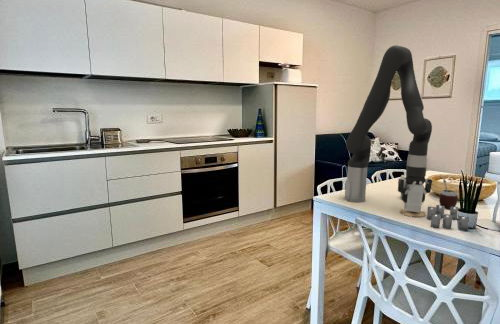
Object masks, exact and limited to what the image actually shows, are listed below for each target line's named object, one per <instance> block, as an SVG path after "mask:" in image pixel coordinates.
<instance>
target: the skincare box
mask: <svg viewBox="0 0 500 324" xmlns="http://www.w3.org/2000/svg"><path fill="white" fill-rule="evenodd" d="M406 184H407V183H406ZM410 185H411V184H409V185H407V187H409V186H410ZM423 188H425V184H423V185H414V186H413V187H412V189H411V190H410V191H409V192H408V193H407V195H408V196H407V203H404V202H403V204H404V205H403V209H405V210H406V211H412V212H421V211H422V206H423V203H422V197H423Z"/></svg>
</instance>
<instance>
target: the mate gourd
mask: <svg viewBox="0 0 500 324" xmlns="http://www.w3.org/2000/svg"><path fill="white" fill-rule="evenodd" d="M439 176H440V177H441V178H442V181H443V182H444V187H445V189H443V190H441V191H440V194H439V205H443V206H445V207H444V209H446V210H447V211H448V210H449V209H451V206H456V207H457V203H458V194H457V192H456V191H455V190H450V189H448V187H447V182H446V179H445V177H444V176H443V175H442V174H439ZM449 211H450V210H449Z"/></svg>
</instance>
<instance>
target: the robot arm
mask: <svg viewBox="0 0 500 324" xmlns="http://www.w3.org/2000/svg"><path fill="white" fill-rule="evenodd" d="M396 73H397V75H398V78H399V81H400V96H401V101H402V104H403V107H404V111H405V115H406V124H407V129H408V131H409V132H410V134H412V135H413V136H412V140H411V142H409V144H408V155H407V160H406V170H405V175H406V178H405V179H400V178H398V181H397V184H398V185H397V191H398V192H399V193H400V194H401V193H402V199H401V201H402V202H403V204H404V203H407V196H408V195H407V193H408V192H409V191H410V190H411V189H412V187H413V186H414V185H424V188H423V197H422V204H423V203H424V202H425V201H426V194H430V193H431V191H432V185H433V180H432V179H431V178H426V176H427V168H428V167H427V165H428V164H427V163H428V150H429V149H428V147H429V146H428V145H429V142H430V139H431V135H432V130H433V124H432V122H431V120H430V119H428V118H425V117H424V112H423V111H424V110H425V109H424V108H425V107H424V103H423V100H422V96H421V93H420V91H419V87H418V84H417V79H416V74H415V70H414V61H413V55H412V51H411V50H410V49H409V48H407V47H405V46H402V45H398V44H396V45H392V46H389V47H388V49H386V50H385V53H384V54H383V57H382V60H381V63H380V66H379V68H378V71H377V74H376V77H375V80H374V81H373V84H372V86H371V89H370V91H369V93H368V95H367V97H366V100H365V102H364V104H363V107H362V109H361V111H360V113H359V116H358V119H357V120H356V123H355V124H354V126H353V128H352V130H351V132H350V134H349V135H348V137H347V139H346V142H345V146H346V150H347V151H348V152H349V153H350V154H352V156H351V158H349V160H348V162H347V176H346V177H347V178H346V179H345V186H344V187H345V188H344V199H345V200H347V202H352V203H364V202H365V201H366V193H367V192H366V190H367V179H368V178H367V177H368V166H369V165H368V164H369V162H370V159H371V158H370V157H371V151H372V149H371V148H372V141H371V138H370V137H369V136H368V133H369V131H370V129H371V128H372V126H374V124H375V123H376V122H377V121H378V120H379V119H380V118H381V116H382V115H383V113H384V112H385V110H386V108H387V105H388V103H389V101H390V97H391V88H392V82H393V80H394V78H395V76H396ZM405 182H406V183H407V184H406V185H405V186H404V184H405ZM424 183H425V184H424ZM409 184H411V185H410V186H409V187H407V185H409Z"/></svg>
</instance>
